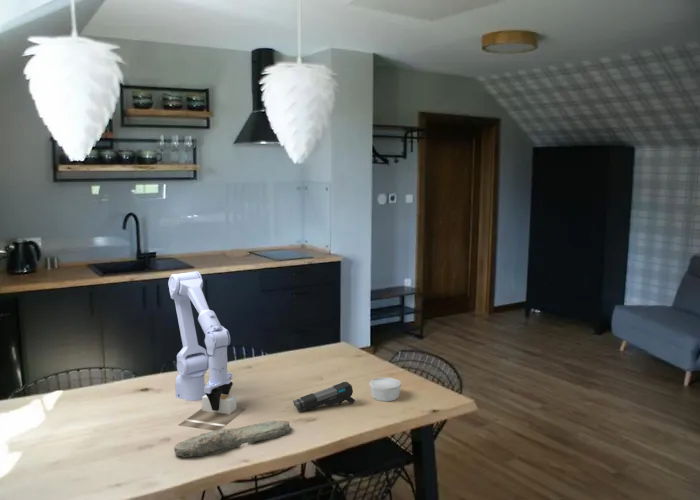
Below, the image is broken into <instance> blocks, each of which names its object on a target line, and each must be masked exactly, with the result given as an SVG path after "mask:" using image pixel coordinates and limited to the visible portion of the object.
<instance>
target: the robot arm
mask: <svg viewBox="0 0 700 500" xmlns="http://www.w3.org/2000/svg"><path fill="white" fill-rule="evenodd" d="M167 284H168V288H169V289H168V291H169V294H170V295H169V296H170V299H171V300H174V304H175V310H176V316H177V321H178V326H179V332H180V339H181V342H182V344H181V345H182V348H181V350H180V351H179V352H178V353H177V355H176V369H177V373H178V374H177V376H176V379H175V381H174V383H175V384H174V385H175V398H176V399H180V400H185V401H189V402H190V401H191V402H192V401H199V400H202V397H203V396H204V395H207V397H208V399H209V401H210V405H211V408H212V410H215V411H218V410H219V404H220V397H221V394H226V395H230V392H231V389H232V387H233V385H234V383H233V381H231V380H233V373H232V372H228V347H229V346H230V344H231V336H230V332H229V330H228V329H227V328H225V326H223V325H221V323H220V321H219V319H218V317H217V314H216V313H215V311H214V310H211V309H210V308H209V305H208V303H207V300H206V297H205V294H204V292H203V286H204V281H203V277H202V275H201V273H200V272H199V271H198V270H196V271H195V270H193V271H188V272H182V273H173V274H171V275H170V277H169V278H168V282H167ZM191 303H192V304H193V306H194V308H195V309H196V312H197V313H198V317H197V321H198V323H199V325H200V327H201V329H202V331H203V333H204V335H205V337H204V344H205V347H206V348H204V347H203V346H201V345H199V342H198V336H197V331H196V326H195V319H194V315H193V310H192V305H191ZM208 370H209V371H208ZM207 371H208V373H209V377H208V378H209V380H208V381H207V383H205V382H206V381H205V378H206V377H205V375H206V374H207Z"/></svg>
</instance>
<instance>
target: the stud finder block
mask: <svg viewBox="0 0 700 500" xmlns="http://www.w3.org/2000/svg"><path fill="white" fill-rule="evenodd" d="M236 407H237V395H232V394H229V395H226V394H221V397H220V404H219V410H218V411H215V410H212V408H211V405H210V401H209V399H208V397H207V395H206V394H205V395H204V396H203V397H202V399H201V409H202V410H203V411H210V412H217V413H224V414H231V413H232V412H233V411H235V410H236Z"/></svg>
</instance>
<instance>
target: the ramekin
mask: <svg viewBox="0 0 700 500" xmlns="http://www.w3.org/2000/svg"><path fill="white" fill-rule="evenodd" d="M368 385H369V387H370V389H369V390H370V394H371V397H372V398H373V399H374V400H376V401H379V402H392V401H396V400H397V399H398V398H399V397H400V393H401V386H402V381H400V380H399V379H396V378H393V377H375V378H372V379H371V380H370V381H369V384H368Z"/></svg>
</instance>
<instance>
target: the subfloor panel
mask: <svg viewBox="0 0 700 500" xmlns="http://www.w3.org/2000/svg"><path fill="white" fill-rule="evenodd" d="M246 410H247V408H245V407H243V408H242V407H237V406H236V410H235V411H233V412H232V413H231V414H224V413H217V412H210V411H203V410H202V408H200V409H199V410H198V411H196V412H194V413H193V414H192V415H191V416H189V417H187V418H185V419H184V420H183V421H182V422H181V423H179V424H178V426H181V427H188V428H195V429H201V430H206V431H215V430H218V429H219V430H220V429H224V428H225V427H226V426H227V425H228V424H230V423H231V422H232V421H233V420H234V419H236V418H237V417H238V416H240V415H241V414H242V413H243V412H245V411H246Z"/></svg>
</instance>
